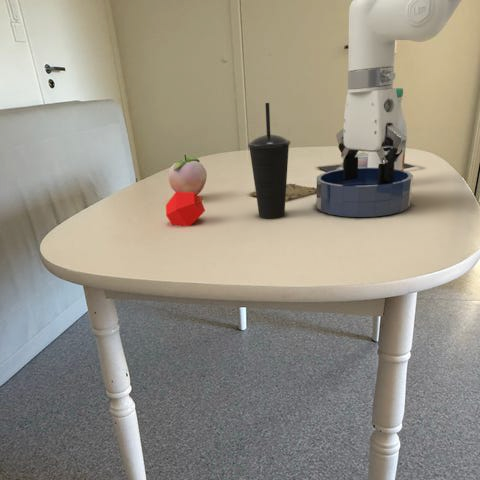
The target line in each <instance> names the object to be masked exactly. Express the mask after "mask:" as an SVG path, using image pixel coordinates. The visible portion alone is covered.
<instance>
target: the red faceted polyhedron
mask: <svg viewBox="0 0 480 480" xmlns="http://www.w3.org/2000/svg"><path fill="white" fill-rule="evenodd" d="M205 212H206V210H205V206H204V204H203V197H202V195H199V194H198V195H196V194H195V193H188V192H175V193H174V194H173V195H172V197H171V198H170V199H169V200H168V201H167V203H166V204H165V216H166V218H167V219H168V220H169V222H170V224H171V225H172V226H181V227H183V226H184V227H189V226H190V227H191V226H192V225H193V224H194V223H195V222H196V221H198V219H199V218H200V217H201V216H202V215H203V214H204V213H205Z"/></svg>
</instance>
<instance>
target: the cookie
mask: <svg viewBox="0 0 480 480" xmlns="http://www.w3.org/2000/svg"><path fill="white" fill-rule="evenodd" d="M312 195H317V187H314V186H313V187H310V186H301V185H298V184H296V183H293V184H292V183H286V198H285V203H286V202H291V201H294V200H298V199H301V198H304V197H309V196H312ZM249 196H251V197H253V196H254V197H256V191H253V192H250V193H249Z"/></svg>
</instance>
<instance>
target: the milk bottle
mask: <svg viewBox="0 0 480 480" xmlns="http://www.w3.org/2000/svg"><path fill="white" fill-rule="evenodd" d="M395 88H396V92H397V99H398V114H399V131H400V132H401V133H402V134H404V135H405V136H406V137H407V134H408V133H407V131H408V129H407V123H406V120H405V117H404V114H403V110H402V109H403V108H402V100H403V96H404V88H402V87H395ZM406 147H407V141H406V142H405V145H404V147H403V148H402V153H401V154H400V155H399V157H398V160H397V161H396V162H394V169H398V170H404V171H405V169H404V163H405V157H406ZM367 152H368V151H367ZM385 153H386V155H387V151H385ZM367 154H368V167H369V168H378V166H379V164H381V163H382V162H381V160H380V158H379V156H378V154H377V152H368V153H367Z"/></svg>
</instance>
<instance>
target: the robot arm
mask: <svg viewBox="0 0 480 480" xmlns="http://www.w3.org/2000/svg"><path fill="white" fill-rule="evenodd" d="M462 1H463V0H352V1H351V2H350V5H349V8H348V59H347V61H348V62H347V63H348V64H347V65H348V66H347V67H348V68H347V70H348V72H347V94H346V97H345V106H344V113H343V115H344V117H343V128H342V129H341V130H340V131H338V132H337V133H336V135H335V136H336V137H335V138H336V140H337V144H338V150H339V151H340V154H341V155H340V157H341V159H342V163H343V180H351V179H355V178H357V177H358V157H355V156H356V154H359V151H360V152H377V154H378V156H379V158H380V160H381V162H382V163H381V164H379V166H378V185H381V184H389V183H393V178H394V162H396V161H397V160H398V157H399V155H400V154H401V153H402V148H403V147H404V145H405V142H406V143H407V140H408V138H407V135H406V136H405V135H404V134H402V133H401V132H400V131H399V114H398V99H397V92H396V88H397V87H394V80H395V78H396V73H395V71H394V70H395V69H394V68H395V67H394V66H395V54H396V53H395V51H396V49H395V48H396V41H412V42H416V43H417V42H418V43H423V42H427V41H430V40H432V39H434V38H435V37H436V36H437V35H438V34H439V33H441V31H442V30H443V29H444V28H445V26H446V25H447V23H448V22H449V21H450V19H451V17H452V16H453V14H454V13H455V11H456V10H457V8H458V7H459V5H460V4H461V2H462ZM385 151H387V155H386V153H385Z"/></svg>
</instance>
